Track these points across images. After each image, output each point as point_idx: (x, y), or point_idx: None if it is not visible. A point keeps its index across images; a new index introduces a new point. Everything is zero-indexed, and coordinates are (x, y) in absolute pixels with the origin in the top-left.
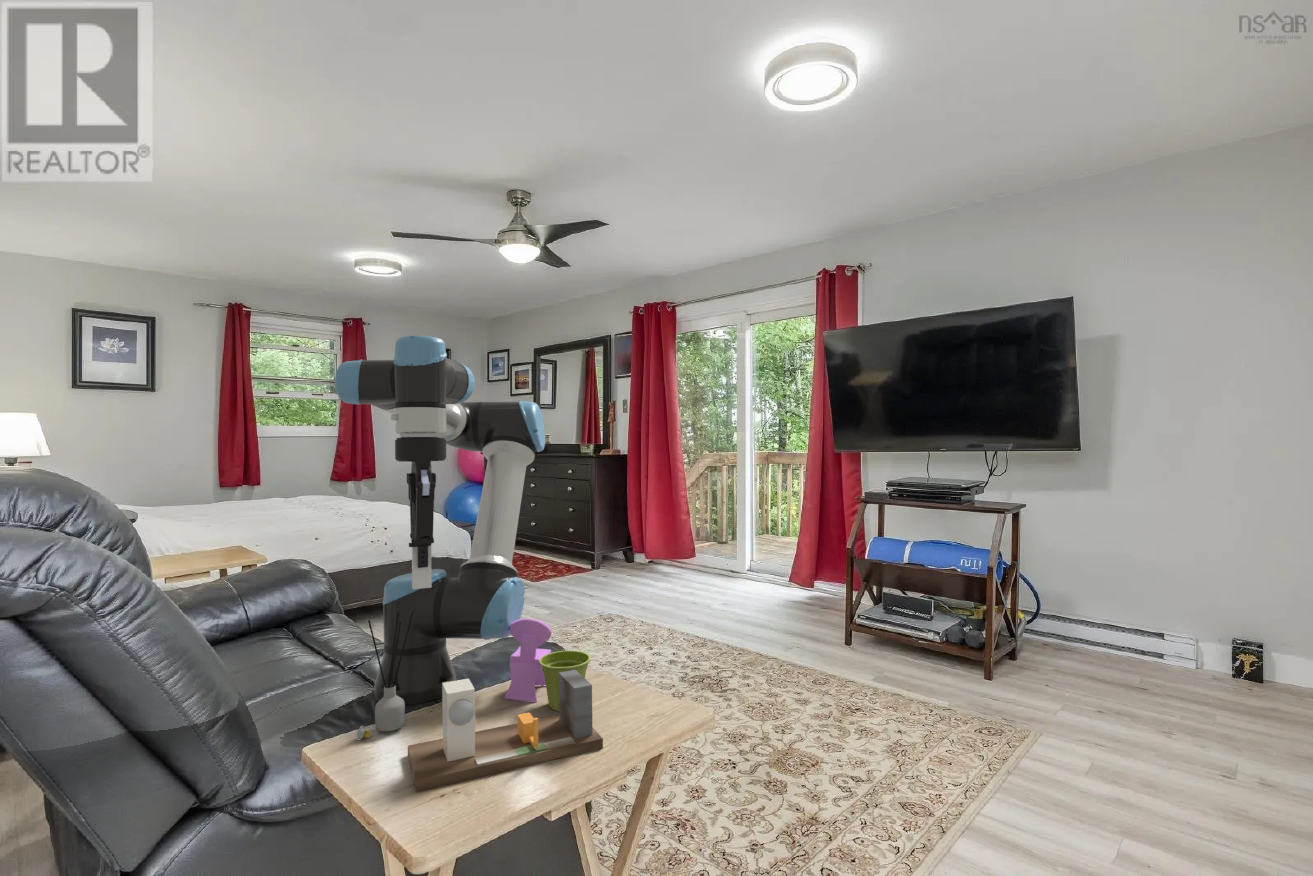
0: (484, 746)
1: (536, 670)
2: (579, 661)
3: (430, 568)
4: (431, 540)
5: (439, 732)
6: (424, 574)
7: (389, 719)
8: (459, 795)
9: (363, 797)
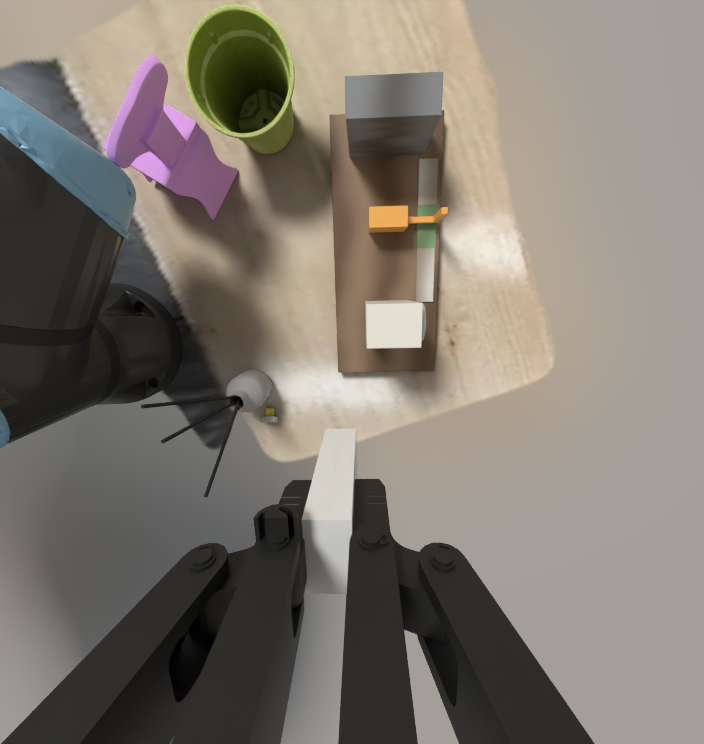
0: (385, 284)
1: (205, 145)
2: (218, 38)
3: (354, 462)
4: (462, 562)
5: (289, 327)
6: (355, 471)
7: (268, 391)
8: (461, 326)
9: (414, 416)
